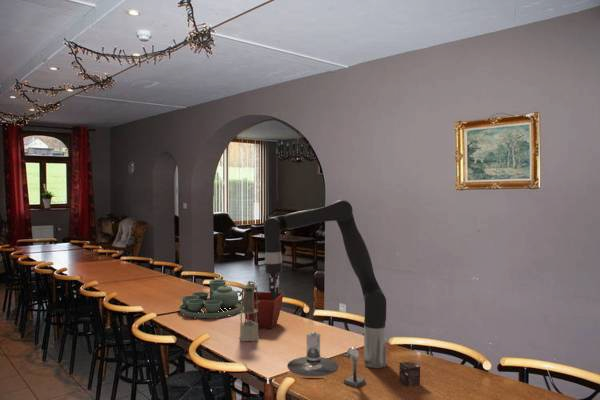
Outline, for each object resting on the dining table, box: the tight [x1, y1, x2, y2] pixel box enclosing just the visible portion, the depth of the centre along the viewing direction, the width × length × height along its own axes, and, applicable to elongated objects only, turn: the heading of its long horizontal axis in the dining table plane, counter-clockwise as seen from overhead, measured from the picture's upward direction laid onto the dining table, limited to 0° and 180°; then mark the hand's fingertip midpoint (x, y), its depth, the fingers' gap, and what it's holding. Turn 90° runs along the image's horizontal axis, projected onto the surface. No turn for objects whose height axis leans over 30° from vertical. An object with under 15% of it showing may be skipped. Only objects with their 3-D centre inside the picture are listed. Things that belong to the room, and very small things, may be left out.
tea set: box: [179, 278, 242, 319], centre depth 291 cm, size 40×40×16 cm
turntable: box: [287, 356, 340, 380], centre depth 196 cm, size 22×22×1 cm
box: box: [398, 360, 421, 387], centre depth 183 cm, size 6×6×7 cm
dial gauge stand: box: [341, 346, 366, 388], centre depth 183 cm, size 9×6×14 cm, turn 50°
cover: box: [305, 331, 322, 362], centre depth 203 cm, size 6×6×12 cm
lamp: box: [238, 280, 260, 342], centre depth 234 cm, size 10×13×30 cm
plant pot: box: [243, 291, 284, 330], centre depth 259 cm, size 19×19×17 cm
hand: (274, 298), depth 203 cm, fingers open, 8 cm apart
